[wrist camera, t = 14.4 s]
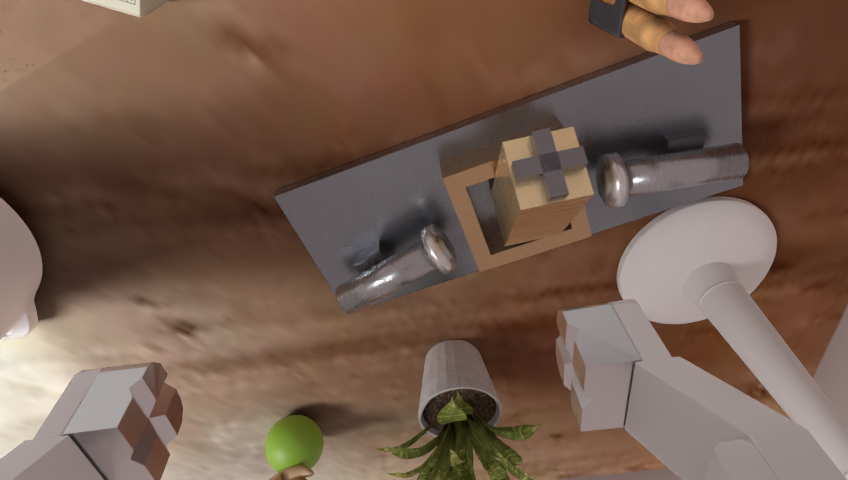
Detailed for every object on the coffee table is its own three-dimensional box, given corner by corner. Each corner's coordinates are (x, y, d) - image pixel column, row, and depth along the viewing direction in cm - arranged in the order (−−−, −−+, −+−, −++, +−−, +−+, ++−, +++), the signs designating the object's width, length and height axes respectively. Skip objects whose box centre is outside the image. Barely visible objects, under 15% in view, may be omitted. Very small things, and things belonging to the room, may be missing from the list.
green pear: (251, 415, 52) (219, 541, 42) (309, 396, 51) (289, 521, 41) (280, 445, 55) (256, 569, 45) (335, 428, 54) (323, 551, 44)
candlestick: (802, 203, 41) (1419, 687, 17) (729, 323, 48) (1084, 785, 24) (649, 189, 40) (1077, 698, 15) (596, 314, 47) (828, 800, 22)
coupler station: (347, 305, 45) (344, 334, 42) (276, 189, 38) (267, 215, 35) (735, 178, 40) (762, 202, 37) (730, 21, 33) (763, 34, 30)
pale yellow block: (560, 234, 37) (598, 189, 27) (504, 246, 37) (522, 205, 27) (545, 181, 38) (576, 119, 28) (490, 193, 38) (503, 135, 28)
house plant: (341, 320, 45) (321, 504, 32) (495, 273, 44) (543, 450, 30) (399, 416, 53) (403, 597, 40) (532, 381, 51) (583, 559, 38)
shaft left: (361, 293, 43) (358, 330, 39) (333, 264, 41) (327, 300, 37) (456, 241, 40) (462, 276, 37) (431, 207, 38) (435, 241, 35)
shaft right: (723, 121, 36) (759, 147, 32) (714, 168, 38) (747, 197, 34) (590, 142, 36) (612, 170, 33) (589, 187, 38) (609, 218, 35)
